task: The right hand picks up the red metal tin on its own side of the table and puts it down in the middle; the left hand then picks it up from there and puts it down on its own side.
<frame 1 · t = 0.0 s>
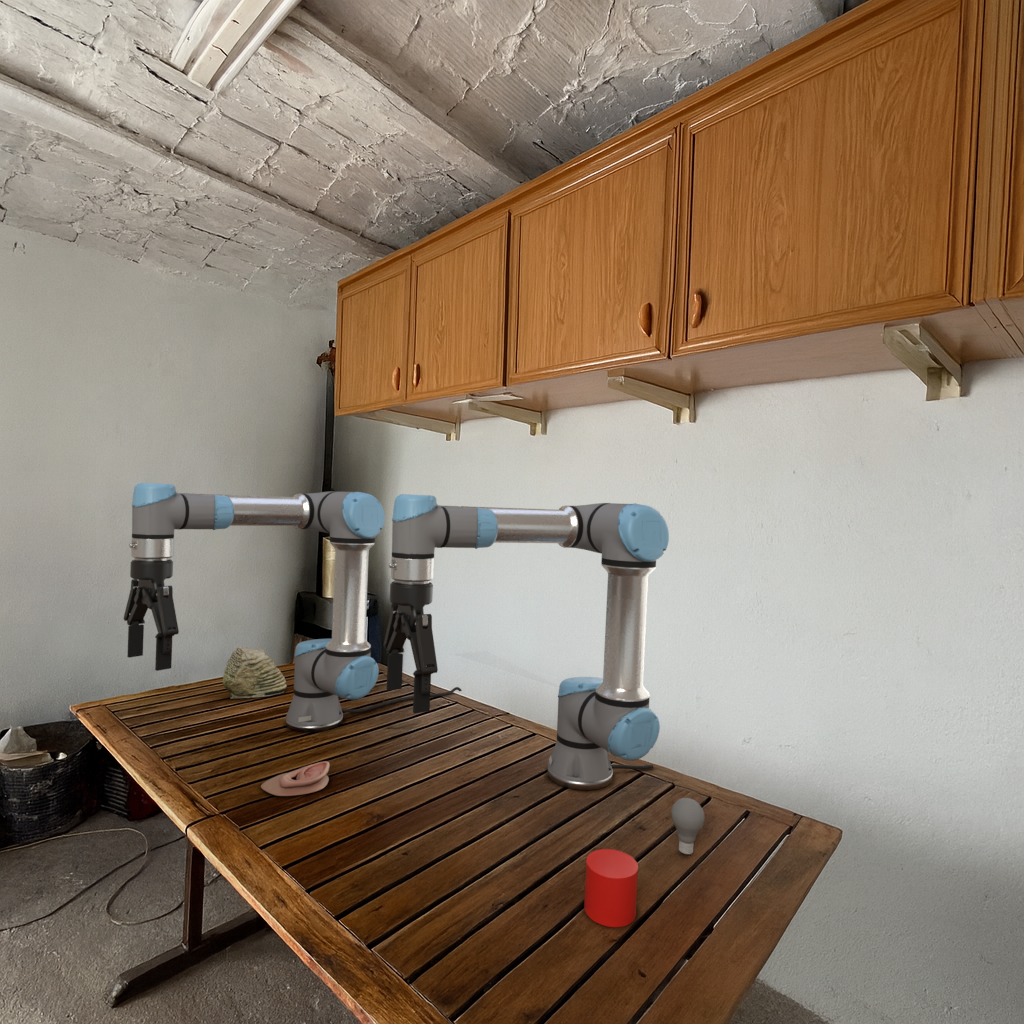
left hand: (148, 662, 129), 28 cm above the table, tool pointing down, fingers open, 13 cm apart
right hand: (406, 700, 113), 28 cm above the table, tool pointing down, fingers open, 13 cm apart
light bulb: (685, 853, 118), on the table
fossil: (254, 694, 198), on the table
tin: (609, 910, 101), on the table
anatomical model: (295, 785, 138), on the table
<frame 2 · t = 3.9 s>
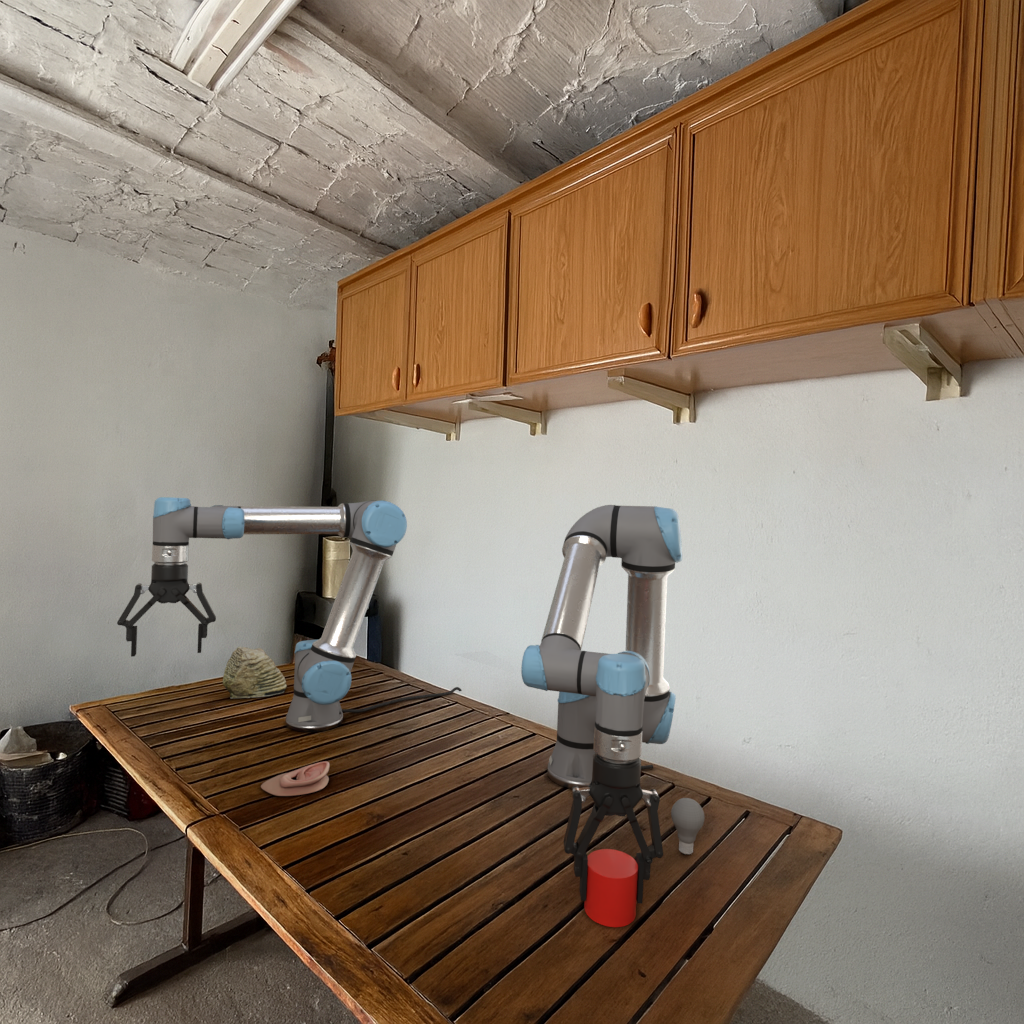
left hand: (167, 653, 149), 25 cm above the table, tool pointing down, fingers open, 13 cm apart
right hand: (610, 896, 101), 2 cm above the table, tool pointing down, fingers closed on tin, 8 cm apart
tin: (609, 910, 101), on the table, touching right hand
everything else where it was.
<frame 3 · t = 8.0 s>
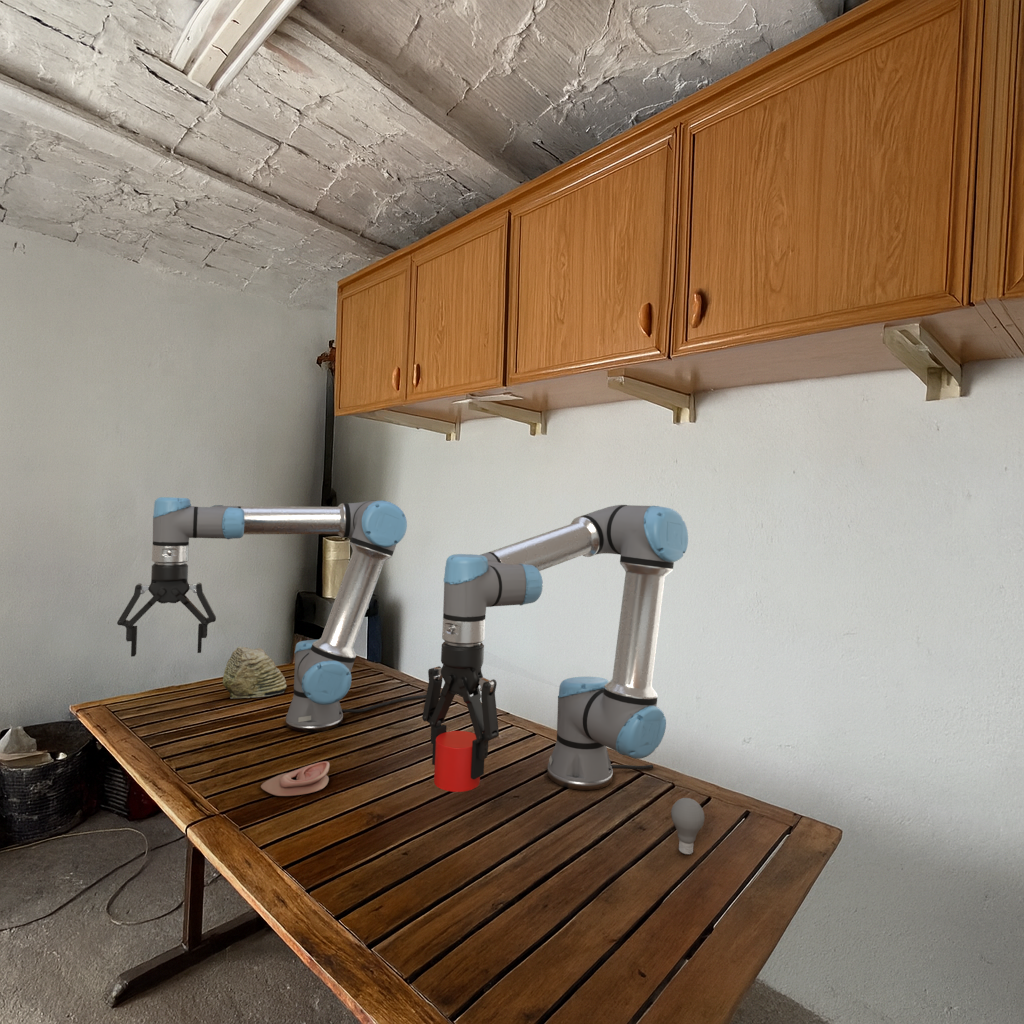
left hand: (167, 653, 149), 25 cm above the table, tool pointing down, fingers open, 13 cm apart
right hand: (457, 769, 112), 16 cm above the table, tool pointing down, fingers closed on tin, 8 cm apart
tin: (456, 781, 112), point 14 cm above the table, touching right hand
everything else where it was.
when the right hand's fingers open (3 cm above the table, at t = 12.3 s): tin drops 1 cm, on the table.
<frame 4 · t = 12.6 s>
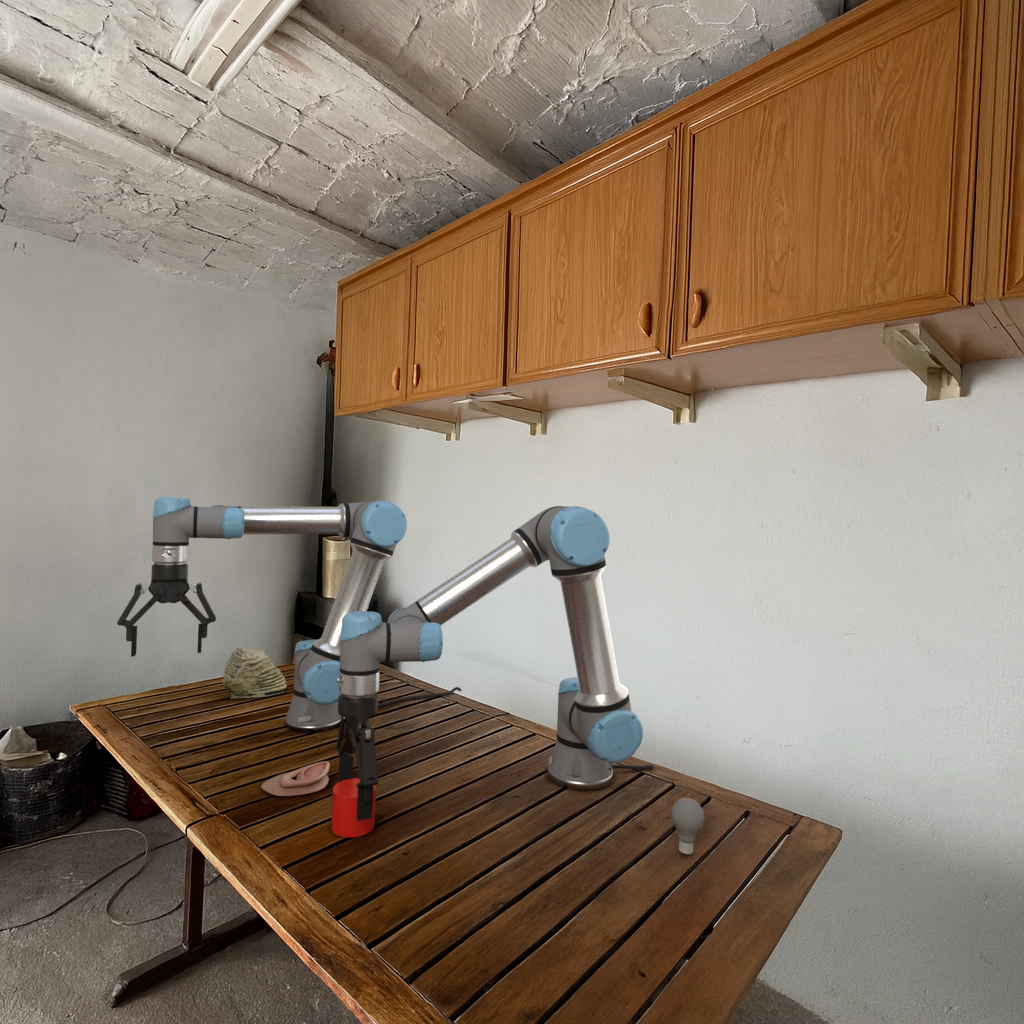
left hand: (167, 653, 149), 25 cm above the table, tool pointing down, fingers open, 13 cm apart
right hand: (354, 803, 122), 5 cm above the table, tool pointing down, fingers open, 12 cm apart
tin: (353, 826, 123), on the table
everything else where it was.
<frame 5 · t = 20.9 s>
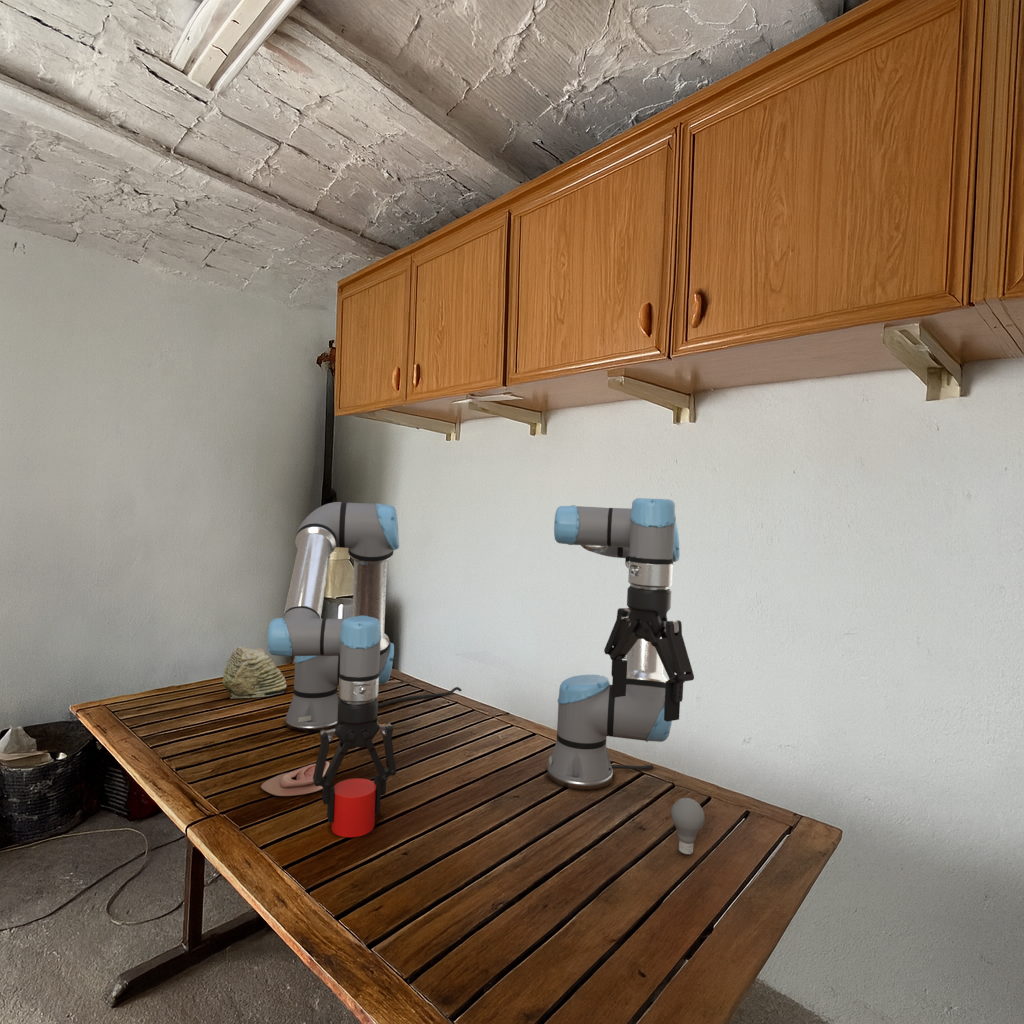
left hand: (353, 815, 122), 2 cm above the table, tool pointing down, fingers closed on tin, 8 cm apart
right hand: (643, 707, 111), 29 cm above the table, tool pointing down, fingers open, 13 cm apart
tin: (353, 826, 123), on the table, touching left hand
everything else where it was.
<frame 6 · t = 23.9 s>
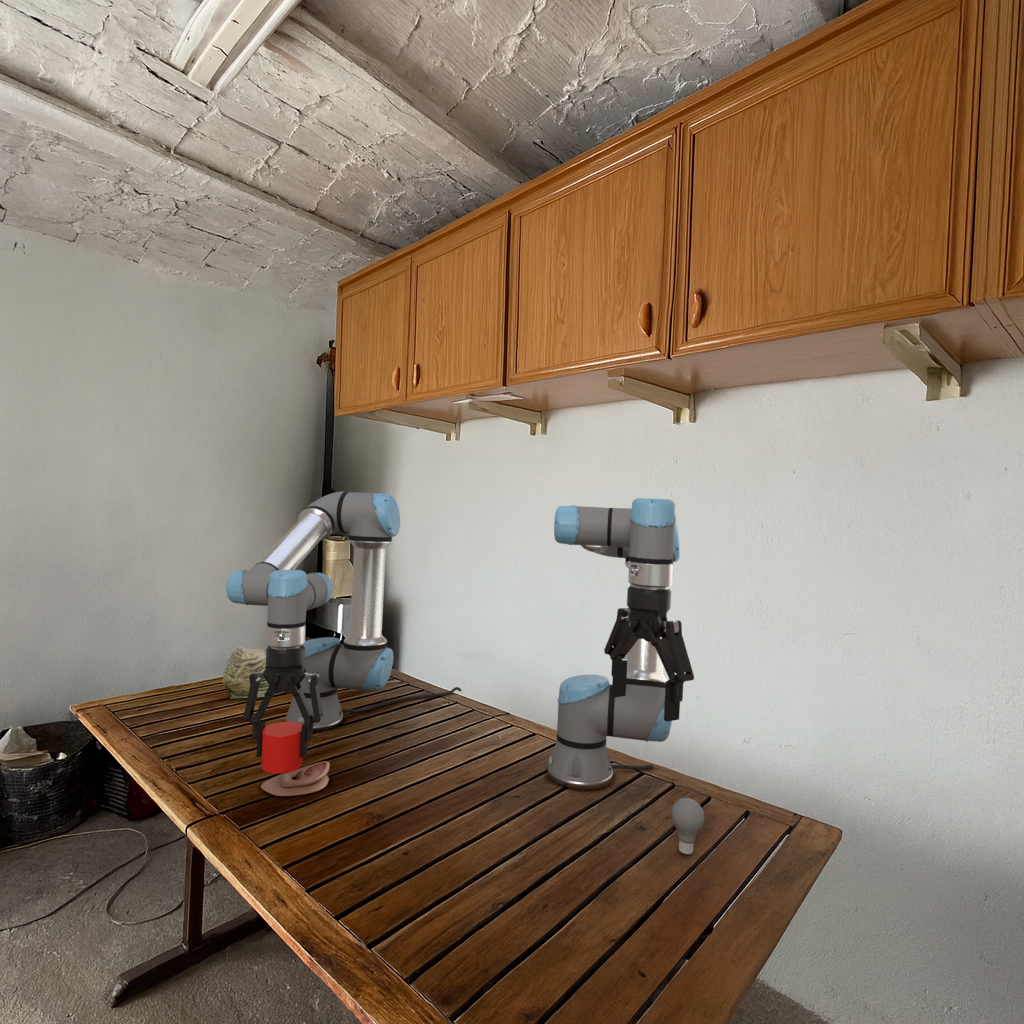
left hand: (282, 754, 131), 10 cm above the table, tool pointing down, fingers closed on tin, 8 cm apart
right hand: (643, 707, 111), 29 cm above the table, tool pointing down, fingers open, 13 cm apart
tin: (282, 764, 131), point 8 cm above the table, touching left hand
everything else where it was.
when the left hand's fingers open (3 cm above the table, at t = 27.2 s): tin drops 1 cm, on the table.
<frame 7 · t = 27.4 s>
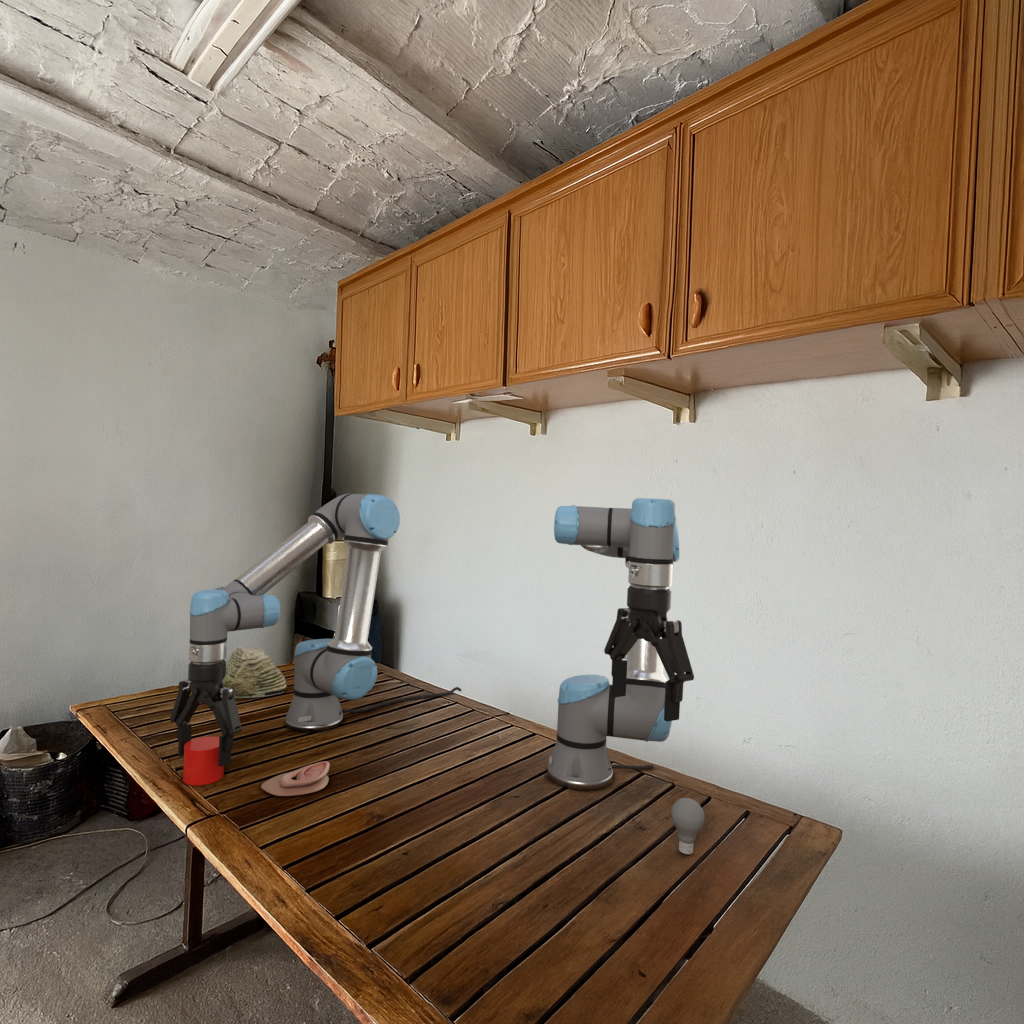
left hand: (204, 759, 140), 4 cm above the table, tool pointing down, fingers open, 11 cm apart
right hand: (643, 707, 111), 29 cm above the table, tool pointing down, fingers open, 13 cm apart
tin: (203, 777, 140), on the table
everything else where it was.
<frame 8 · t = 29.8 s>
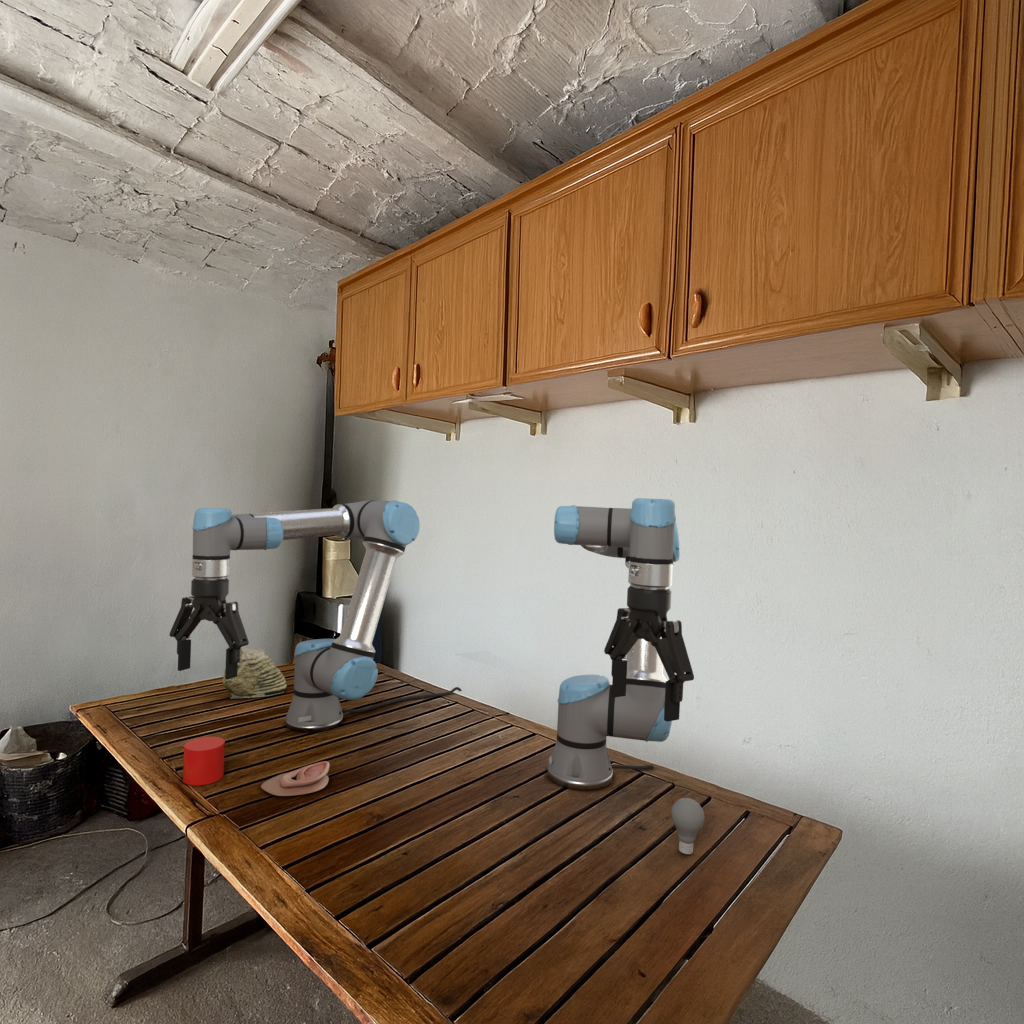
left hand: (207, 673, 140), 23 cm above the table, tool pointing down, fingers open, 13 cm apart
right hand: (643, 707, 111), 29 cm above the table, tool pointing down, fingers open, 13 cm apart
nothing on the table moved.
at the end: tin inside the target area (0.0 cm from its centre), on the table; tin tilted 0°; the two hands never held the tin at the same time; the left hand is holding nothing; the right hand is holding nothing; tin at rest at the end (0.0 cm/s) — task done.
